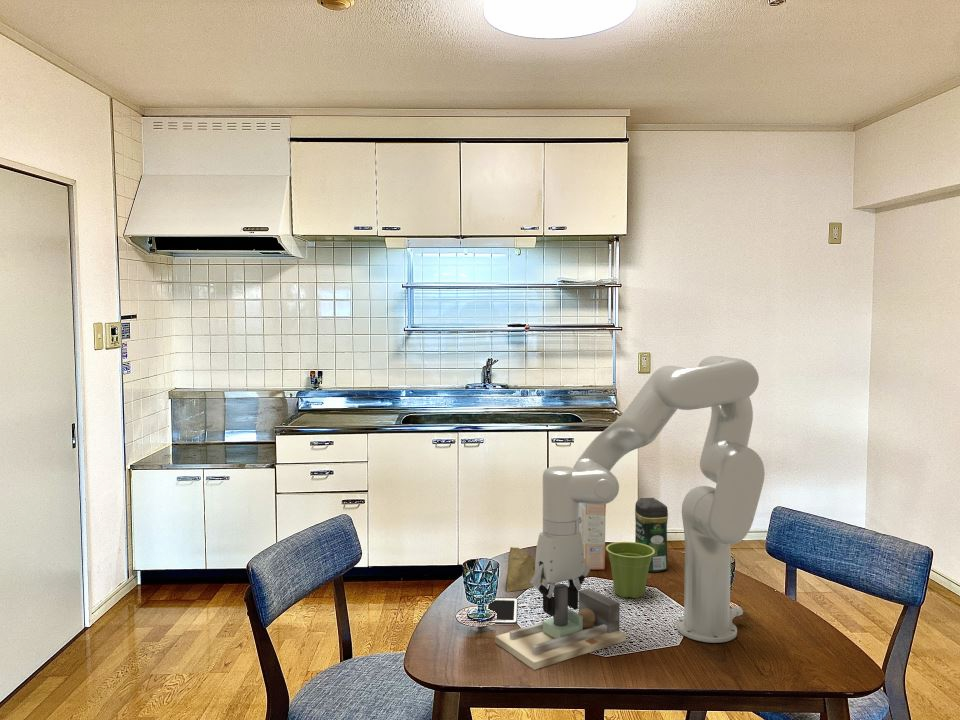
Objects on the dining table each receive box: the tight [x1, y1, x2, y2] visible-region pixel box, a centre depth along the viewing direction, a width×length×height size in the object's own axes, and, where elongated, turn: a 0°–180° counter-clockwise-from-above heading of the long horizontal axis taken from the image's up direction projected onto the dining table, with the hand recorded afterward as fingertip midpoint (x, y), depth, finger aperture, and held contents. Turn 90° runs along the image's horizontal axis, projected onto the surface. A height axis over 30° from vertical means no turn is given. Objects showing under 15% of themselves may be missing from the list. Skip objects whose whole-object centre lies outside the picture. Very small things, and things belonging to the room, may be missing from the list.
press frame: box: [494, 587, 627, 671], centre depth 157 cm, size 24×14×8 cm, turn 122°
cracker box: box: [579, 503, 607, 571], centre depth 206 cm, size 14×6×21 cm, turn 1°
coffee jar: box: [634, 497, 669, 573], centre depth 202 cm, size 10×8×19 cm
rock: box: [505, 546, 543, 593], centre depth 188 cm, size 11×9×10 cm
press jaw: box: [542, 583, 583, 639], centre depth 157 cm, size 6×6×10 cm
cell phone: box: [487, 596, 519, 625], centre depth 173 cm, size 8×15×1 cm, turn 176°
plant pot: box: [605, 541, 655, 599], centre depth 183 cm, size 12×12×11 cm
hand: (560, 609), depth 156 cm, fingers open, 5 cm apart
